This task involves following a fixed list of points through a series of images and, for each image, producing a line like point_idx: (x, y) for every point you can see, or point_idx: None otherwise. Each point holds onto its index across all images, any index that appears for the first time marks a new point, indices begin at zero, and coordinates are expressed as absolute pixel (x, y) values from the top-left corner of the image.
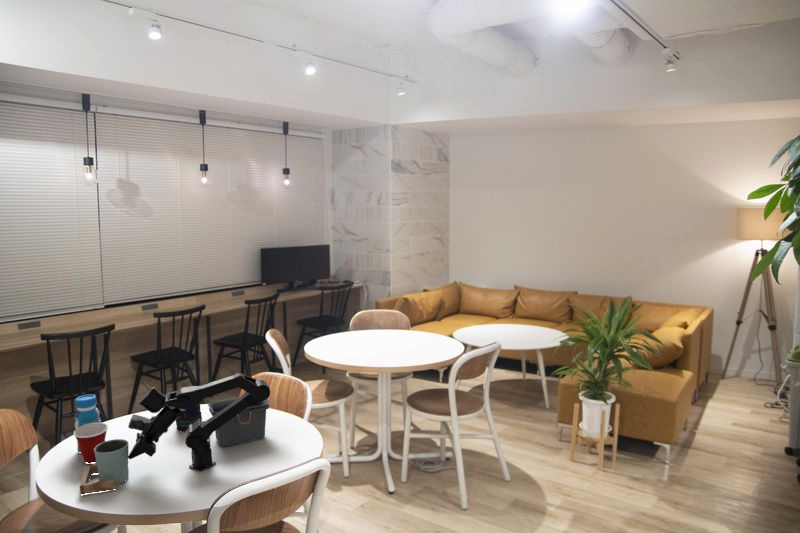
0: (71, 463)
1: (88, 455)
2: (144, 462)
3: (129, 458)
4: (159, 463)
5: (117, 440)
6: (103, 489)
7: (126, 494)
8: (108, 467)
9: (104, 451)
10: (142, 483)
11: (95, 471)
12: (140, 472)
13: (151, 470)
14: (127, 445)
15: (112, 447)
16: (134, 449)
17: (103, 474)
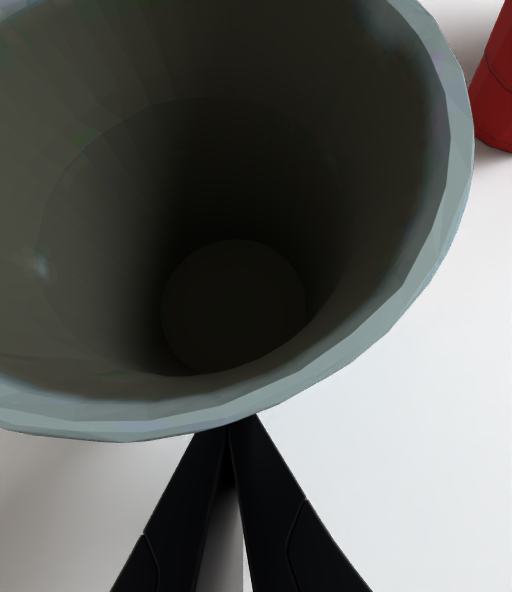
0: (476, 36)
1: (489, 54)
2: (500, 436)
3: None
4: (484, 585)
5: (434, 125)
6: None
7: (16, 443)
8: (78, 254)
9: (292, 103)
10: (142, 520)
11: None
12: (328, 452)
13: (353, 540)
14: (82, 439)
15: (356, 146)
16: (128, 573)
17: (133, 239)
